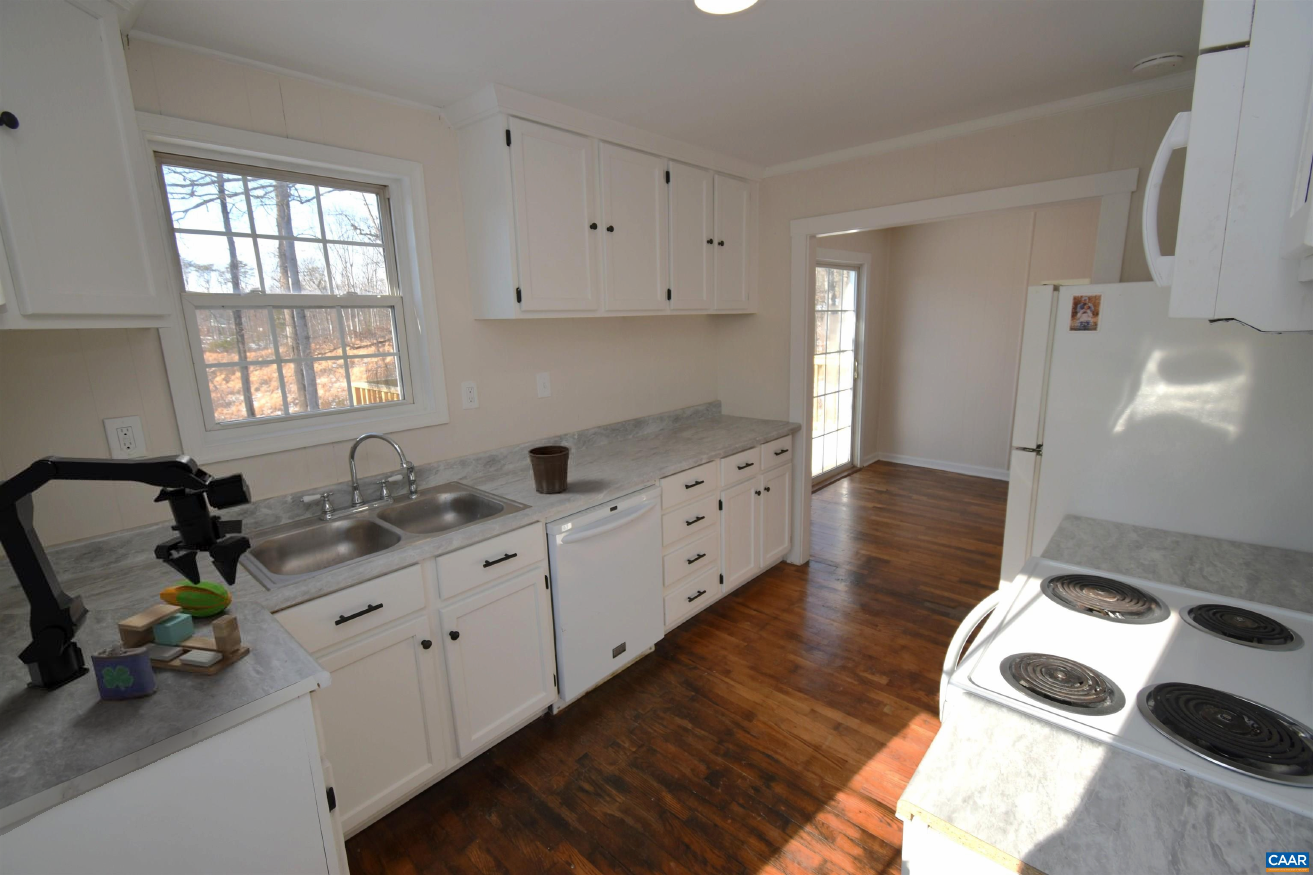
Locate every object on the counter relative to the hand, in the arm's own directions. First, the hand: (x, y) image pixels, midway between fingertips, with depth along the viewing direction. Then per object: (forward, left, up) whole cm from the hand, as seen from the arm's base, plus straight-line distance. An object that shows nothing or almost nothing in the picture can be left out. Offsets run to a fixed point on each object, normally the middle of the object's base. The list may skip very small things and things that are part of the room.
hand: (214, 584), depth 121 cm
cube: (-5, +7, -11) cm, 13 cm away
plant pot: (+113, -27, -13) cm, 117 cm away
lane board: (-7, +1, -13) cm, 15 cm away
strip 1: (-5, +1, -12) cm, 13 cm away
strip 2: (-9, +1, -12) cm, 15 cm away
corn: (+8, +19, -13) cm, 25 cm away
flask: (-19, 0, -13) cm, 23 cm away
